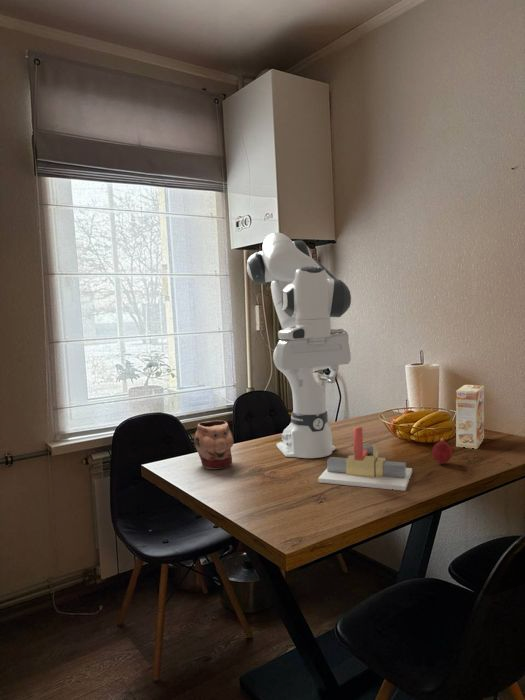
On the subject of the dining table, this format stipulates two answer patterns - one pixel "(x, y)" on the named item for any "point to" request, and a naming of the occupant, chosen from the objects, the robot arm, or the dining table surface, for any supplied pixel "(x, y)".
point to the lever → (360, 445)
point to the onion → (442, 451)
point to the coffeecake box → (470, 416)
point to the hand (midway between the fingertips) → (315, 384)
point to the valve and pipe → (367, 466)
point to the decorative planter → (214, 444)
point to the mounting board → (366, 480)
